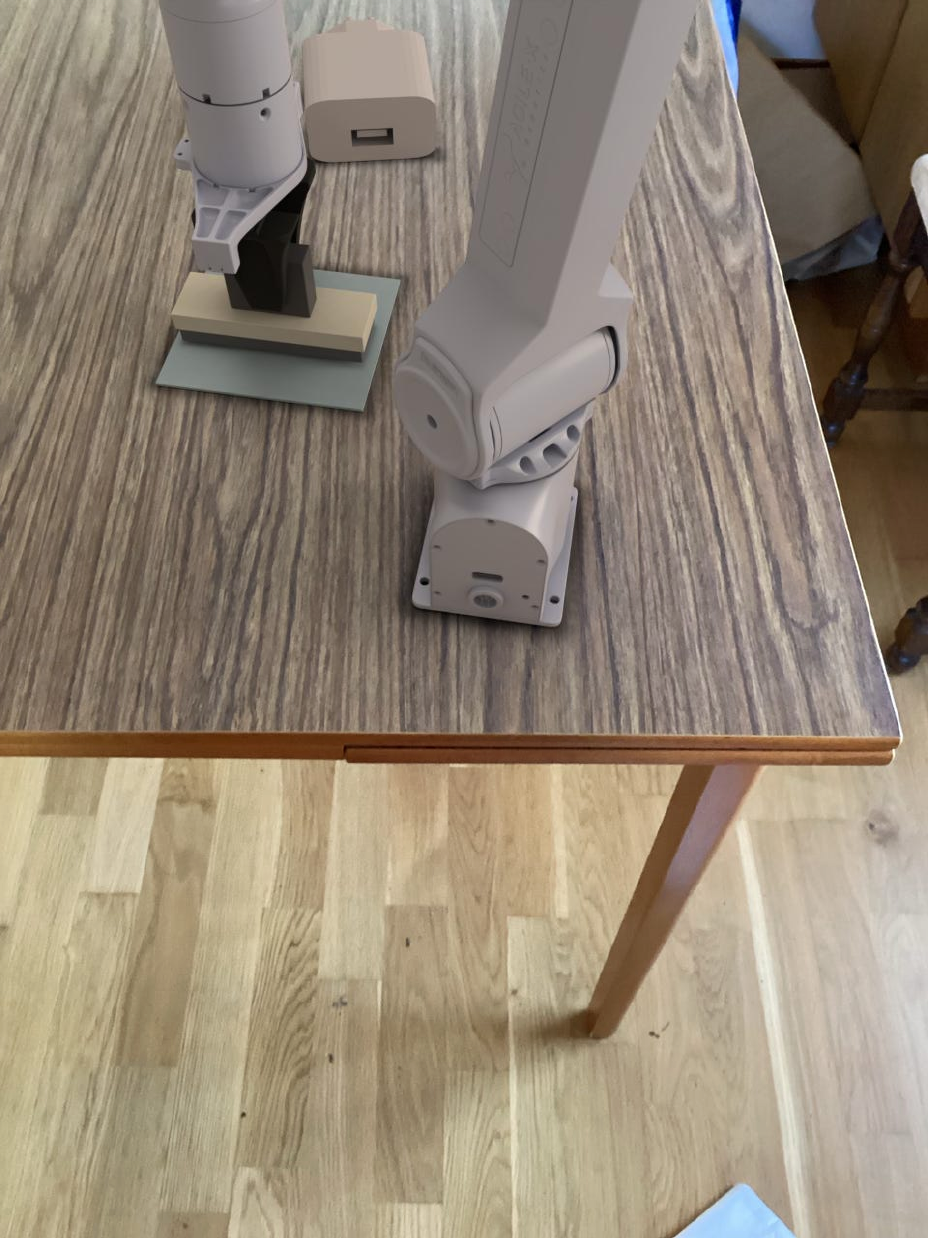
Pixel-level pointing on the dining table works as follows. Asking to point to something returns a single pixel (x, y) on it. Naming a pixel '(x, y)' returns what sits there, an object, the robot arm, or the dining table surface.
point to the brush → (278, 315)
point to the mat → (286, 360)
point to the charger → (368, 93)
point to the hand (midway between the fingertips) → (273, 292)
